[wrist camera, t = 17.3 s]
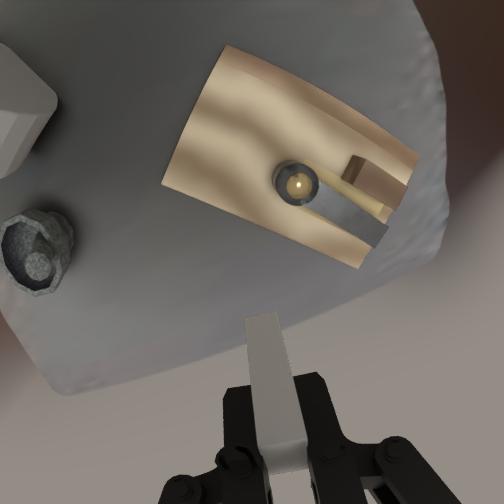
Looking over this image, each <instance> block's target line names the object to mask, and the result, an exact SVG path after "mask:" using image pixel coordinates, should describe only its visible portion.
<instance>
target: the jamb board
mask: <svg viewBox="0 0 504 504" xmlns="http://www.w3.org/2000/svg"><path fill="white" fill-rule="evenodd" d="M419 158H420V156H418V155H417V154H416V153H415V152H413V151H412V150H411V149H410V148H408V147H407V146H406V145H404V144H403V143H402V142H400V141H399V140H398V139H396V138H395V137H394V136H392V135H391V134H389V133H388V132H387V131H385V130H384V129H382V128H381V127H379V126H378V125H377V124H375V123H374V122H372V121H371V120H369V119H368V118H366V117H365V116H363V115H362V114H360V113H359V112H357V111H355V110H354V109H352V108H351V107H349V106H348V105H346V104H344V103H343V102H341V101H339V100H338V99H336V98H334V97H333V96H331V95H329V94H328V93H326V92H324V91H322V90H321V89H319V88H317V87H315V86H313V85H312V84H310V83H308V82H306V81H304V80H302V79H300V78H298V77H297V76H295V75H293V74H291V73H289V72H287V71H285V70H283V69H281V68H279V67H277V66H274V65H272V64H270V63H268V62H266V61H264V60H262V59H259V58H257V57H255V56H253V55H250V54H248V53H246V52H243V51H241V50H238V49H236V48H234V47H231V46H229V45H226V47H225V48H224V50H223V52H222V54H221V56H220V58H219V59H218V61H217V63H216V65H215V67H214V69H213V71H212V73H211V75H210V76H209V78H208V80H207V82H206V84H205V86H204V88H203V90H202V92H201V94H200V96H199V98H198V100H197V102H196V105H195V107H194V109H193V111H192V113H191V115H190V117H189V119H188V122H187V124H186V126H185V128H184V130H183V133H182V135H181V137H180V139H179V142H178V144H177V146H176V149H175V151H174V153H173V156H172V158H171V161H170V163H169V165H168V168H167V170H166V173H165V175H164V178H163V180H162V183H161V184H162V185H165V186H167V187H170V188H172V189H175V190H177V191H179V192H182V193H184V194H187V195H189V196H192V197H194V198H196V199H199V200H201V201H204V202H206V203H208V204H211V205H213V206H216V207H218V208H220V209H223V210H225V211H227V212H230V213H232V214H235V215H237V216H239V217H242V218H244V219H246V220H249V221H251V222H253V223H256V224H258V225H260V226H263V227H265V228H267V229H269V230H272V231H274V232H276V233H279V234H281V235H283V236H285V237H288V238H290V239H292V240H295V241H297V242H299V243H301V244H304V245H306V246H308V247H310V248H313V249H315V250H317V251H319V252H321V253H324V254H326V255H328V256H330V257H333V258H335V259H337V260H339V261H341V262H344V263H346V264H348V265H350V266H352V267H354V268H357V269H358V268H359V266H360V265H361V263H362V262H363V260H364V258H365V257H366V255H367V253H368V252H369V250H370V248H371V246H370V245H368V244H366V243H365V242H363V241H362V240H360V239H359V238H357V237H355V236H354V235H352V234H350V233H349V232H347V231H346V230H344V229H342V228H341V227H339V226H337V225H336V224H334V223H332V222H331V221H329V220H328V219H326V218H324V217H322V216H321V215H319V214H317V213H316V212H314V211H312V210H311V209H309V208H307V207H305V206H304V205H302V206H293V205H290V204H288V203H286V202H285V201H283V199H282V198H281V197H280V196H279V194H278V193H277V192H276V190H275V189H274V187H273V184H272V173H273V171H274V169H275V167H276V166H277V165H278V164H279V163H281V162H283V161H285V160H297V161H299V162H301V163H303V164H305V165H307V166H308V167H310V168H311V169H313V170H314V172H315V173H316V174H317V176H318V179H319V181H321V182H323V183H324V184H326V185H327V186H329V187H331V188H332V189H334V190H335V191H337V192H338V193H340V194H341V195H343V196H344V197H346V198H347V199H349V200H350V201H352V202H353V203H355V204H356V205H358V206H359V207H361V208H362V209H364V210H365V211H367V212H368V213H370V214H371V215H373V216H374V217H375V218H377V219H378V220H380V221H381V222H382V223H384V224H385V223H386V221H387V219H388V217H389V215H390V214H391V212H392V210H394V211H396V209H397V207H398V205H399V204H400V202H401V200H402V198H403V196H404V194H405V192H406V190H407V188H408V187H407V186H406V184H407V182H408V180H409V178H410V176H411V174H412V172H413V170H414V168H415V166H416V164H417V162H418V160H419Z"/></svg>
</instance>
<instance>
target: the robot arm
mask: <svg viewBox="0 0 504 504" xmlns="http://www.w3.org/2000/svg"><path fill="white" fill-rule="evenodd" d="M244 322H245V332H246V342H247V352H248V361H249V372H250V381H251V385H247V386H240V387H233V388H228V389H227V391H226V393H225V395H224V398H223V419H224V421H223V424H224V425H223V426H224V447H223V448H222V449H220V451H219V452H218V453H217V455H216V458H215V463H216V464H217V467H216V468H215V469H214V470H212V471H209V472H207V473H204V474H201V475H199V476H195V477H192V476H189V475H177V476H174V477H172V478H171V479H169V480H168V481H167V483H166V484H165V486H164V488H163V491H162V494H161V497H160V499H159V502H158V504H273V497H272V490H271V487H270V483H269V476H268V475H275V474H280V473H287V472H293V471H298V470H303V469H308V468H309V472H310V476H311V488H312V490H313V494H314V499H315V504H368V503H367V500H366V496H365V493H364V490H363V489H368V490H369V492H370V493H371V495H372V496H373V498H374V499H375V501H376V502H377V504H461V502H460V501H459V500H458V499H457V498H456V496H455V495H454V494H453V493H452V492H451V491H450V489H449V488H448V487H447V486H446V484H445V483H444V482H443V481H442V480H441V478H440V477H439V476H438V475H437V474H436V472H435V471H434V470H433V469H432V467H431V466H430V465H429V464H428V463H427V461H426V460H425V459H424V458H423V457H422V455H421V454H420V453H419V452H418V451H417V450H416V448H415V447H414V446H413V445H412V444H411V442H410V441H408V440H407V439H406V438H403V437H400V436H391V437H389V438H386V439H384V440H383V441H382V442H381V443H379V444H358V443H355V442H352V441H350V440H348V439H347V438H346V437H345V436H344V435H343V433H342V431H341V428H340V425H339V422H338V419H337V416H336V413H335V410H334V407H333V404H332V401H331V398H330V395H329V393H328V389H327V386H326V383H325V380H324V379H323V378H322V377H321V376H320V375H319V374H318V373H317V372H313V373H308V374H303V375H298V376H292V372H291V368H290V364H289V360H288V356H287V352H286V347H285V343H284V339H283V335H282V331H281V327H280V323H279V319H278V315H277V312H274V313H269V314H264V315H258V316H253V317H247V318H244Z"/></svg>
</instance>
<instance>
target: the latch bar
mask: <svg viewBox="0 0 504 504" xmlns="http://www.w3.org/2000/svg"><path fill="white" fill-rule="evenodd" d="M272 184H273V187H274V189H275V190H276V192H277V193H278V194H279V196H280V197H281V198H282V199H283V201H285V202H286V203H288V204H290V205H293V206H302V205H304V206H305V207H307V208H309V209H311V210H312V211H314V212H316V213H317V214H319V215H321V216H322V217H324V218H326V219H328V220H329V221H331V222H332V223H334V224H336V225H337V226H339V227H341V228H342V229H344V230H346V231H347V232H349V233H350V234H352V235H354V236H355V237H357V238H359V239H360V240H362V241H363V242H365V243H366V244H368V245H370V246H371V247H373V248H374V249H375V247H376V246H377V244H378V243H379V241H380V240H381V238H382V237H383V235H384V234H385V232H386V231H387V229H388V228H389V227H388V226H386V225H385V224H384V223H382V222H381V221H380V220H378V219H377V218H375V217H374V216H373V215H371V214H370V213H368V212H367V211H365V210H364V209H362V208H361V207H359V206H358V205H356V204H355V203H353V202H352V201H350V200H349V199H347V198H346V197H344V196H343V195H341V194H340V193H338V192H337V191H335V190H334V189H332V188H331V187H329V186H327V185H326V184H324V183H323V182H321V181H319V179H318V176H317V174H316V173H315V172H314V170H313V169H311V168H310V167H308V166H307V165H305V164H303V163H301V162H299V161H297V160H285V161H283V162H281V163H279V164H278V165H277V166H276V167H275V169H274V171H273V173H272Z"/></svg>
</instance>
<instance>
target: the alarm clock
mask: <svg viewBox="0 0 504 504" xmlns="http://www.w3.org/2000/svg"><path fill="white" fill-rule="evenodd" d="M57 102H58V98H57V95H56V93H55V92H54V91H53V90H52V89H51V88H50V87H49V86H48V85H47V84H46V83H45V82H44V81H43V80H42V79H41V78H40V77H39V76H38V75H37V74H36V73H35V72H34V71H33V70H32V69H30V68H29V67H28V66H27V65H26V64H25V63H24V62H23V61H22V60H21V59H20V58H19V57H18V56H17V55H16V54H15V53H14V52H13V51H12V50H11V49H10V48H9V47H7V46H6V45H4V44H2V43H0V179H1V178H4V177H6V176H8V175H9V174H11V173H13V172H15V171H16V170H18V168H19V167H20V166H21V164H22V163H23V162H24V160H25V159H26V157H27V155H28V153H29V151H30V150H31V148H32V146H33V144H34V143H35V141H36V139H37V138H38V136H39V134H40V133H41V131H42V130H43V128H44V127H45V125H46V123H47V122H48V120H49V119H50V117H51V116H52V114H53V113H54V111H55V110H56V108H57Z"/></svg>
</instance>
